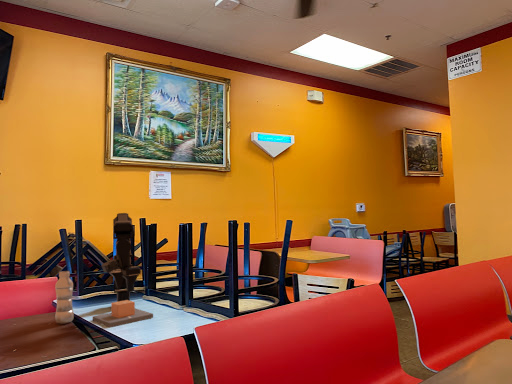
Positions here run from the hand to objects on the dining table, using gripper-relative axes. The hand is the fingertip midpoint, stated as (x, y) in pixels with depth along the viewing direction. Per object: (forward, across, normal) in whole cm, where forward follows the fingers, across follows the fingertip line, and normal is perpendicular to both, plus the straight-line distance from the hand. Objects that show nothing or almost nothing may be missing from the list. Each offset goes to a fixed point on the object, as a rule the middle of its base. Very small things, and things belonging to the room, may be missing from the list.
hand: (123, 290), depth 158 cm
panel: (+11, +2, -1) cm, 11 cm away
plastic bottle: (+11, -11, -19) cm, 25 cm away
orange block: (+9, +2, -1) cm, 10 cm away
